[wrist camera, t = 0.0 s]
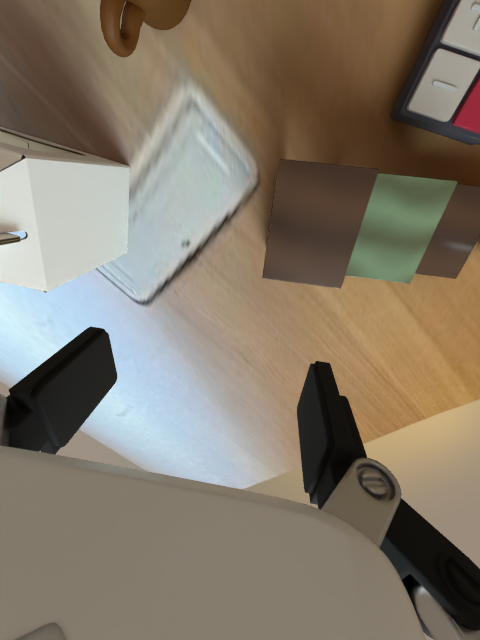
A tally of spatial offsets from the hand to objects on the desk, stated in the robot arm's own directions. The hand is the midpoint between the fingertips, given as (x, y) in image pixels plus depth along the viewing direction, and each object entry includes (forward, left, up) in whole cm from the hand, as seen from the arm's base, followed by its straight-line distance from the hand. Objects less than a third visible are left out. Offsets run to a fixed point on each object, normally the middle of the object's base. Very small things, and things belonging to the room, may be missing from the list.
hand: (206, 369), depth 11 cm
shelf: (-4, +15, -31) cm, 35 cm away
